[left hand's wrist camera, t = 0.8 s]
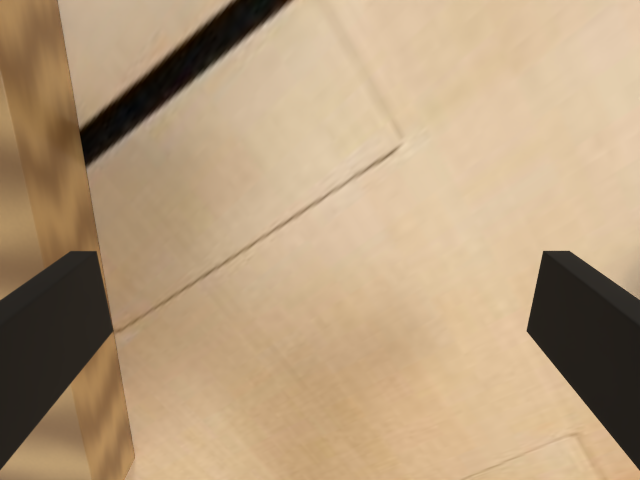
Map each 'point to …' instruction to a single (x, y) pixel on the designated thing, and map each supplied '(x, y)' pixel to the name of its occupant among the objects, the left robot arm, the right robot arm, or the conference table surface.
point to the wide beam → (53, 241)
